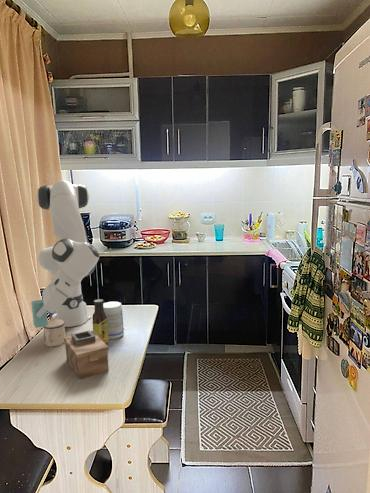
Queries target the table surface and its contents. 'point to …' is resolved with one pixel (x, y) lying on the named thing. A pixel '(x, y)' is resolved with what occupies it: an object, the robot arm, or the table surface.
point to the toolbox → (86, 353)
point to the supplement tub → (114, 319)
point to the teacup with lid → (54, 332)
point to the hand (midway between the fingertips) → (37, 313)
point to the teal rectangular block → (37, 320)
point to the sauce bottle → (100, 321)
